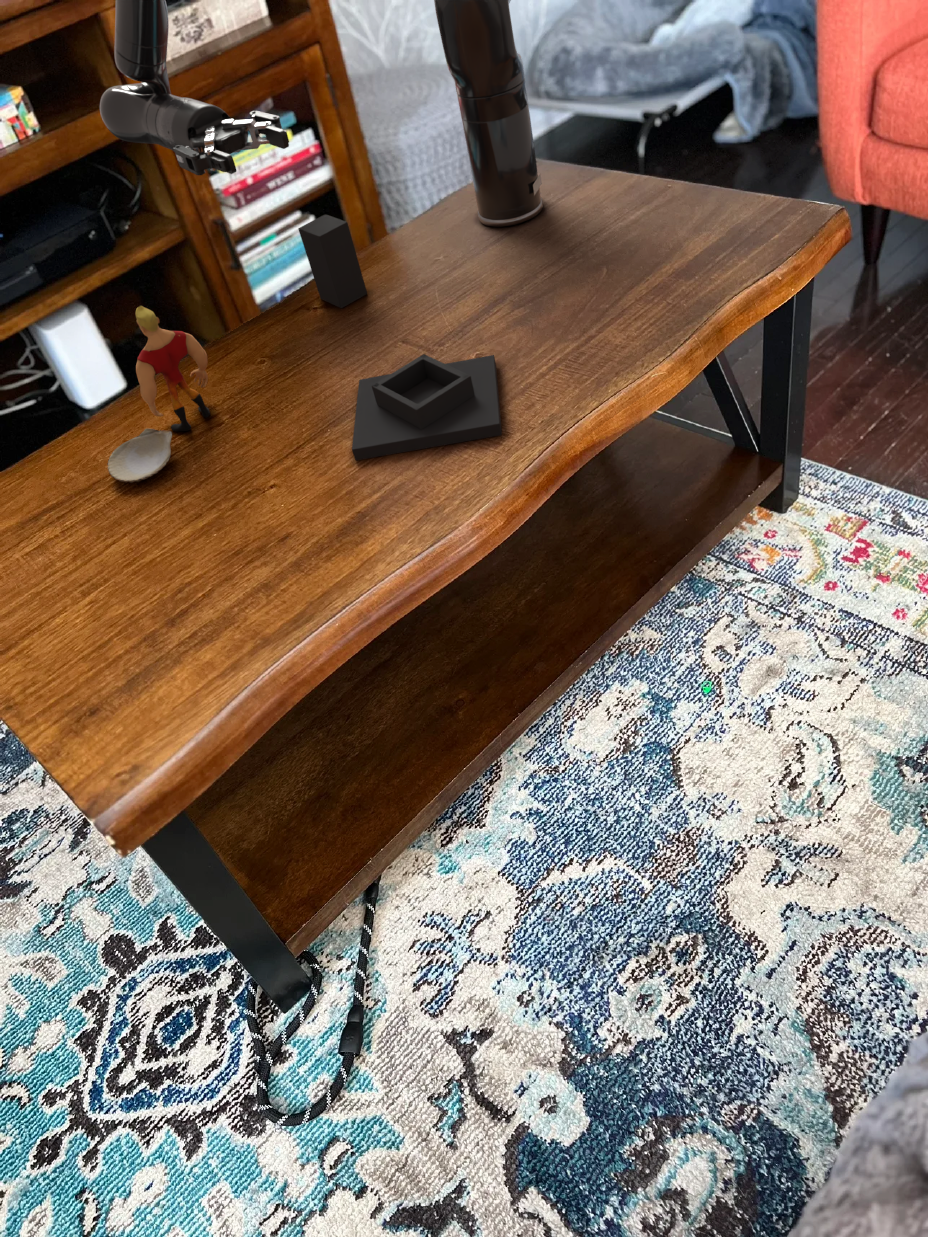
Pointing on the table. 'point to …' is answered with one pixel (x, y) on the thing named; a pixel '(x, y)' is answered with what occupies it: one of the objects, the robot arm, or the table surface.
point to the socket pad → (440, 432)
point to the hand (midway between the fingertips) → (259, 152)
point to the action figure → (169, 365)
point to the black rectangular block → (333, 260)
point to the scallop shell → (141, 456)
